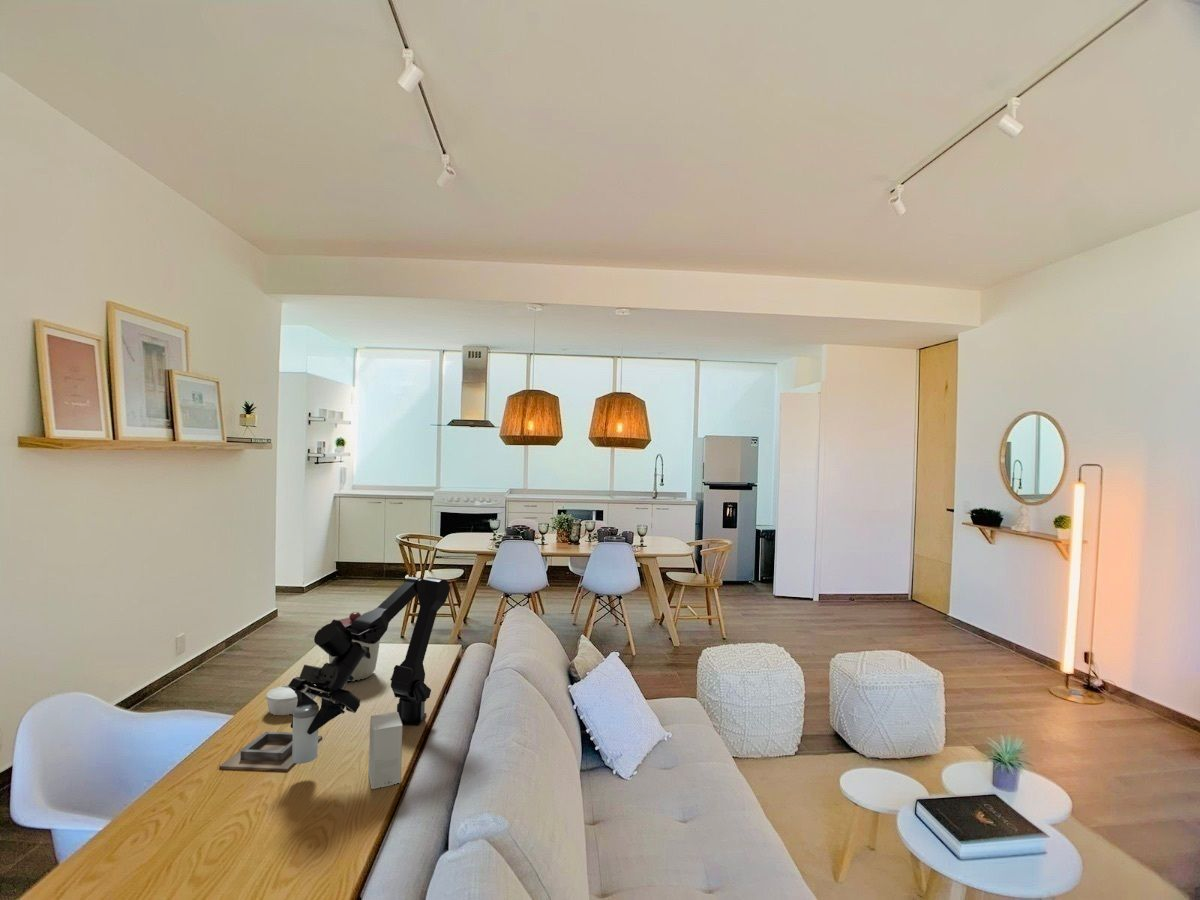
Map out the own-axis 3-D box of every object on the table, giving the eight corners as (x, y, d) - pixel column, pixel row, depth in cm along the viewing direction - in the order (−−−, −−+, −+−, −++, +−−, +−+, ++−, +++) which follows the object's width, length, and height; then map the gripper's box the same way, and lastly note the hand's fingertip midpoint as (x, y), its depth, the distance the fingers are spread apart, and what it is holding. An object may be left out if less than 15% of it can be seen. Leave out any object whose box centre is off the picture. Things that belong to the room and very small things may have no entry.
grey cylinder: (321, 752, 134) (323, 704, 135) (310, 764, 129) (311, 714, 129) (299, 751, 135) (301, 703, 135) (287, 763, 129) (288, 713, 129)
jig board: (322, 738, 150) (322, 728, 150) (287, 771, 134) (287, 760, 134) (261, 735, 150) (261, 725, 150) (219, 768, 134) (219, 757, 134)
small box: (401, 783, 130) (403, 725, 130) (370, 790, 127) (372, 730, 128) (396, 766, 137) (398, 710, 138) (368, 772, 135) (369, 715, 135)
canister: (321, 690, 180) (324, 621, 181) (323, 670, 197) (325, 607, 197) (383, 682, 188) (386, 617, 188) (380, 663, 204) (382, 603, 204)
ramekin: (312, 699, 173) (313, 681, 174) (306, 715, 163) (307, 696, 163) (270, 703, 170) (271, 685, 170) (261, 720, 159) (262, 701, 159)
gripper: (296, 642, 140) (249, 706, 130) (351, 656, 132) (306, 725, 122) (324, 665, 147) (281, 727, 137) (377, 679, 139) (336, 746, 129)
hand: (300, 730), depth 131 cm, fingers closed on grey cylinder, 5 cm apart
